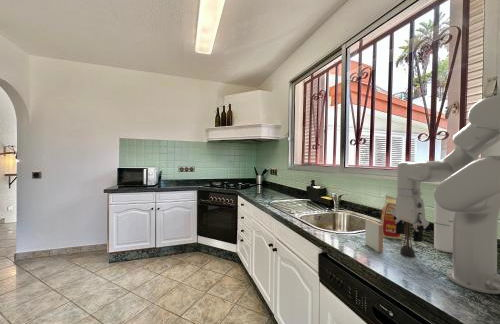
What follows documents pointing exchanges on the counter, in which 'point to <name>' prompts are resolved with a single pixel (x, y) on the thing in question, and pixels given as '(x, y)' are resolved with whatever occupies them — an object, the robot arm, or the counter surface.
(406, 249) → the wooden tabletop sculpture
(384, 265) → the counter surface
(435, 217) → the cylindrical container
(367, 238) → the tile
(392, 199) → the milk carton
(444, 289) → the counter surface
